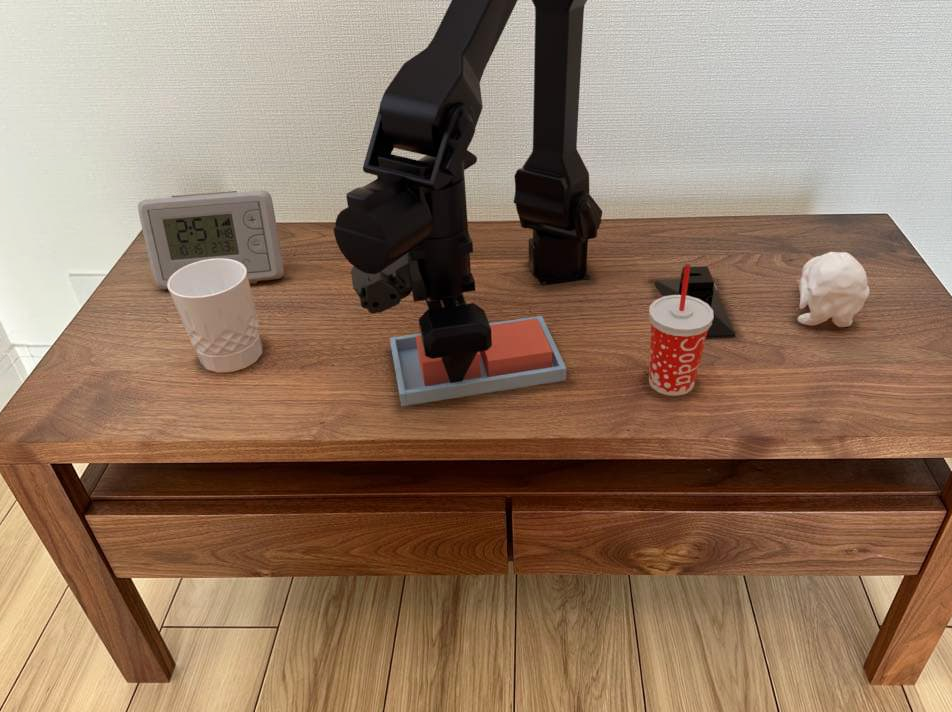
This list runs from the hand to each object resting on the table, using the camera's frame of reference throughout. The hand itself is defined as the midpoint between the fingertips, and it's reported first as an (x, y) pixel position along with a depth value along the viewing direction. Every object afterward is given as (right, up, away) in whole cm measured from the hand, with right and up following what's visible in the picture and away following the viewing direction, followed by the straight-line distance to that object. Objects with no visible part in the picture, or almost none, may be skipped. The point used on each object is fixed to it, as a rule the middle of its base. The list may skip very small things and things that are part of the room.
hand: (449, 360), depth 80 cm
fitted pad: (+7, 0, +2) cm, 7 cm away
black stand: (+28, +7, +9) cm, 30 cm away
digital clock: (-30, +12, +18) cm, 37 cm away
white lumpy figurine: (+43, +6, +8) cm, 44 cm away
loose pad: (0, -1, +1) cm, 1 cm away
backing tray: (+3, -1, +1) cm, 3 cm away
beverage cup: (+23, -3, -2) cm, 23 cm away
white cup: (-25, +1, +4) cm, 25 cm away
